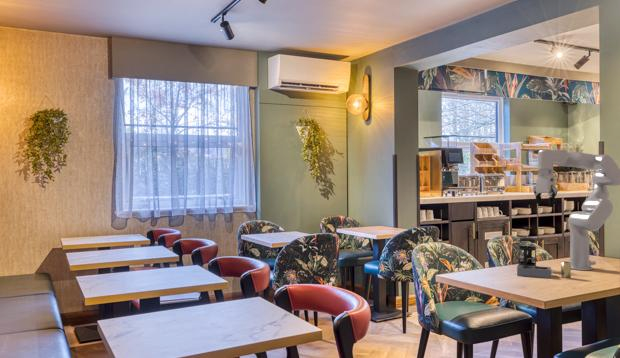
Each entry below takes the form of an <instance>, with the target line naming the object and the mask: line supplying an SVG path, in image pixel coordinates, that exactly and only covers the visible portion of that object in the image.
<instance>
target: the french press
mask: <svg viewBox="0 0 620 358" xmlns="http://www.w3.org/2000/svg"><path fill="white" fill-rule="evenodd" d="M523 229H526V237H525V236H522V237H518V239H519V243H522V242H526V245H520V246H518V265H527V266H537V247H536V246H532V245H531V246H529V245H528V244H529V242H530V243H531V244H535V243H536V240H537V238H536V237H531V236H529V230H530V229H531V227H530V226H525V227H524V226H523ZM521 251H523V255H521ZM533 251H534V256H533ZM521 259H522V260H521ZM533 260H534V262H533Z"/></svg>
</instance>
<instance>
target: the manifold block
mask: <svg viewBox="0 0 620 358" xmlns="http://www.w3.org/2000/svg"><path fill="white" fill-rule="evenodd" d="M516 275H517V277H528V278H544V279H545V278H546V279H552V267H551V266H542V265H541V266H538V265H536V266H527V265H519V264H517V266H516Z"/></svg>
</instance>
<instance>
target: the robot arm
mask: <svg viewBox="0 0 620 358" xmlns="http://www.w3.org/2000/svg"><path fill="white" fill-rule="evenodd" d="M554 166H561V167H562V166H563V167H570V168H578V169H585V170H590V171H592V170H593V171H594V173H593V175H592V178H591V179H592V184H593V188H592V189H593V190H592V191H591V193H590V194H589V195H588V197H587V198H586V199H585V200H584V201H583V203H582V205H581V210H582V211H574V212H571V213H570V214H569V217H568V218H567V219H568V220H567V221H568V226H569V232H570V233H569V235H570V236H569V239H570V240H569V247H570V249H569V253H570V254H569V262H571V270H576V271H592V270H593V266H594V265H595V266H596V264H597V261H594V260H593V261H592V260H590V234H589V231H597V230H599V229H600V228H601V227H602V226H603V225H604V224H605V222H606V221H607V220H608V219H609V218H610V216H611V215H612V213H613V210H614V208H613V207H614V206H613V203H612V201H611V200H609V199H608V198H610V197H609V196H610V194H609V190H608V186H610V187H612V186H616V187H617V186H619V185H620V167H619V166H618V164H617V163H616V161H615V160H614V159H613V158H612V157H611V156H610V155H609V154H592V153H587V152H586V153H585V152H579V151H569V152H568V151H567V150H565V149H540V150H538V153H537V175H536V182H535V186H534V187H533V188H532V190H533V194H534V197H535V204H537V205H538V204H542V194H548V196H549V197H548V205H550V206H551V205H552V206H553V205H555V202H556V201H555V198H556V196H557V194H558V191H559V188H557V187H556V179H555V175H554V172H555V171H554Z"/></svg>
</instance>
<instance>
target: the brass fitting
mask: <svg viewBox="0 0 620 358" xmlns="http://www.w3.org/2000/svg"><path fill="white" fill-rule="evenodd" d="M560 265H561V266H560V278H561V279H564V278H572V277H571V276H572V269H571V262H570V261H563V260H562V261H561V262H560Z"/></svg>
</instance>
